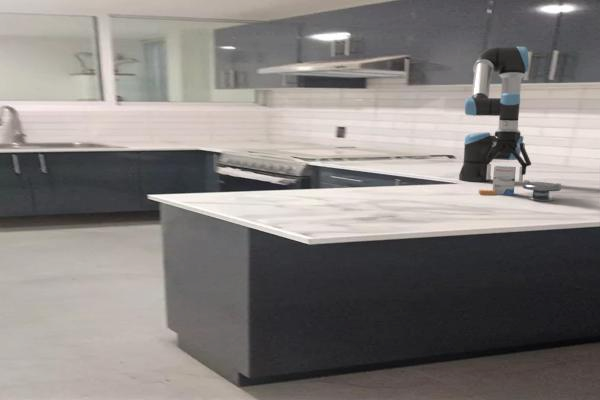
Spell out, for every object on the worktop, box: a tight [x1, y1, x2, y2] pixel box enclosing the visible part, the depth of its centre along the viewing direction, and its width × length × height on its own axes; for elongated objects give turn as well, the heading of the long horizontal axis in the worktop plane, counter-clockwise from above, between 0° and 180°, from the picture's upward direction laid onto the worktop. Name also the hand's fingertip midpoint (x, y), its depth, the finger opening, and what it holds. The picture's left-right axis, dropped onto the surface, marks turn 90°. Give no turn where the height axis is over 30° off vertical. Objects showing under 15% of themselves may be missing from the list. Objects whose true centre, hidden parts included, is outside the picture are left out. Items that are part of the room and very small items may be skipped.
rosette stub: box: [522, 179, 562, 202], centre depth 216 cm, size 14×14×7 cm
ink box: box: [492, 165, 517, 196], centre depth 228 cm, size 8×5×12 cm, turn 65°
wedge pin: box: [478, 189, 496, 196], centre depth 228 cm, size 6×2×2 cm, turn 84°
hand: (504, 180), depth 228 cm, fingers open, 13 cm apart
